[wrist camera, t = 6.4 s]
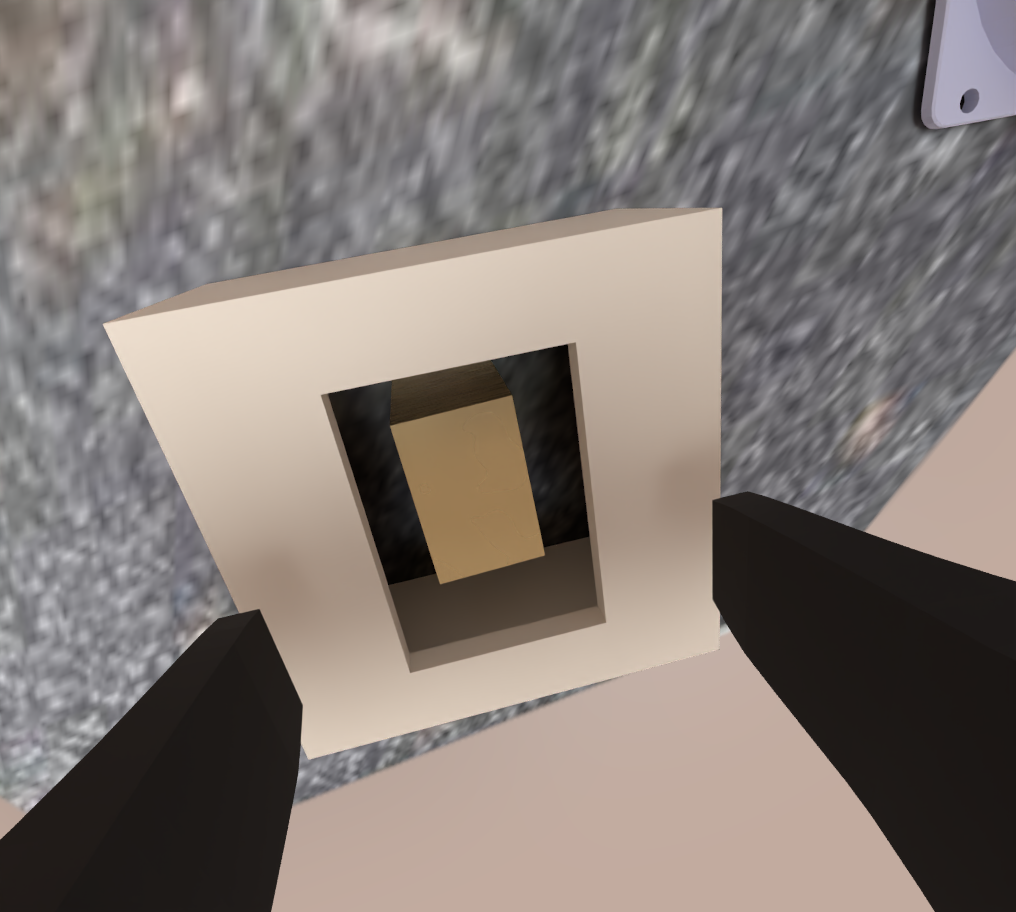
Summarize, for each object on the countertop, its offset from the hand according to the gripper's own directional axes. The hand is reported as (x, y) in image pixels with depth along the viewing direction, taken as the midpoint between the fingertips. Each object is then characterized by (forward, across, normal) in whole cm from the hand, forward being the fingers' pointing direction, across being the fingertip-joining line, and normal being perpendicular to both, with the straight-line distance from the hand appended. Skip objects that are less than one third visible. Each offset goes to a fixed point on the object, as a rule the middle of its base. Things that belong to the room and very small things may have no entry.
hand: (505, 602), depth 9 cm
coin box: (+7, 0, 0) cm, 7 cm away
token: (+8, 0, 0) cm, 8 cm away
